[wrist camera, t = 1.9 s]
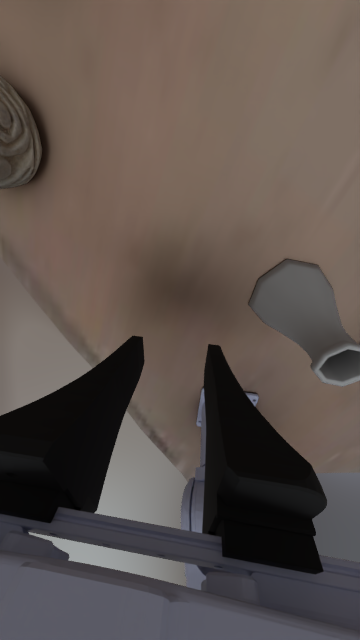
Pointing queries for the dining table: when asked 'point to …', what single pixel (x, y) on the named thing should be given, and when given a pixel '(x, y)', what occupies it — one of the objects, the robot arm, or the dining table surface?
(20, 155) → the carving
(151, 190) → the dining table surface
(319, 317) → the flask
